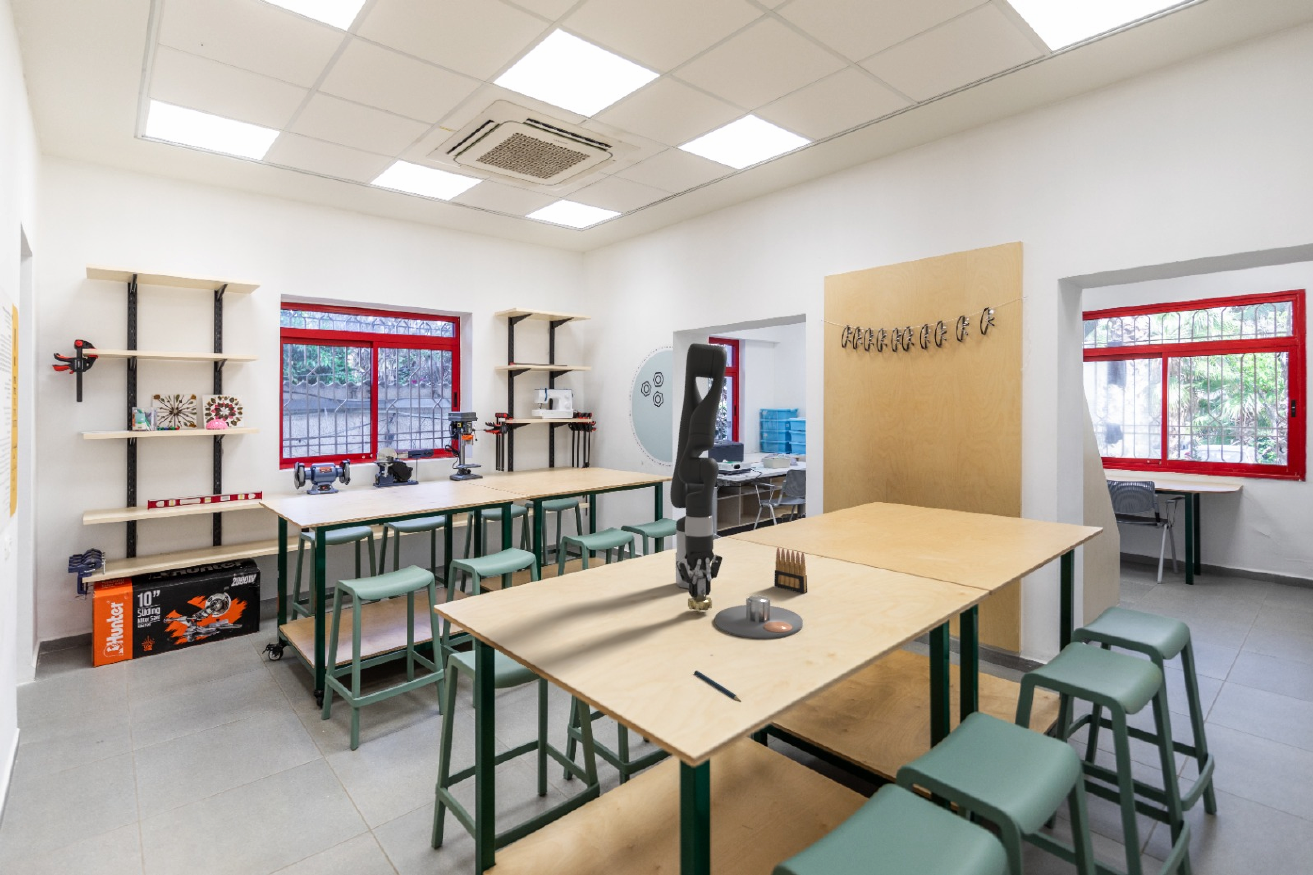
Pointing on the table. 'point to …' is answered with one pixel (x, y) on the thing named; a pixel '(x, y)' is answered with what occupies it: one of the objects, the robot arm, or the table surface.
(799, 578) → the ammunition clip
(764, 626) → the carrier plate
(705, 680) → the pencil
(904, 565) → the table surface
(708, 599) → the planet gear
